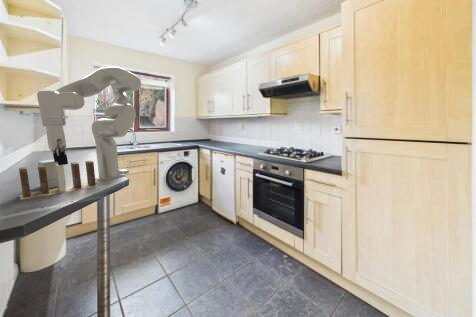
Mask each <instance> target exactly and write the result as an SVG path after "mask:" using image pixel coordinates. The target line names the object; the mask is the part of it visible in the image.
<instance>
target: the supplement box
mask: <svg viewBox="0 0 476 317" xmlns="http://www.w3.org/2000/svg"><path fill="white" fill-rule="evenodd" d="M55 164H58V162H54V159H46V160H38V161H37V167H38V166H43V165H44V166H45V167H46V173H47V181H48V188H49V189H53V188H55V187H57V188H58V185H57V177H56V169H55ZM63 171H64V172H65V168H64V166H63ZM65 176H66V175H65V174H64V179H65V180H66V177H65ZM66 185H67V183H66V182H65V186H66Z"/></svg>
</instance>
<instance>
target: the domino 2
mask: <svg viewBox="0 0 476 317" xmlns="http://www.w3.org/2000/svg"><path fill="white" fill-rule="evenodd" d="M63 167H64V165H58V164H55V169H56V177H57V185H58V186H57V188H58V190H59V191H60V192H61V191H66V187H67V186H66V185H65V183H66V178H65V179H64V175H65V170H64V171H63Z"/></svg>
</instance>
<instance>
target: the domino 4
mask: <svg viewBox="0 0 476 317" xmlns="http://www.w3.org/2000/svg"><path fill="white" fill-rule="evenodd" d="M84 162H85V170H86V178H87V179H86V180H87V184H88V185H89V186H96V184H97V183H96V179H95V178H96V176H95V175H96V173H95V164H94V161H92V160H87V161H86V160H85V161H84Z"/></svg>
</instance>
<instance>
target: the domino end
mask: <svg viewBox="0 0 476 317" xmlns="http://www.w3.org/2000/svg"><path fill="white" fill-rule="evenodd" d="M18 171H19V178H20V183H21V184H20V185H21V191H22V194H23V197H24V198H26V197H31V194H30V193H31V187H30V181H29V174H28V169H27V166H25V167H24V166H23V167H18Z"/></svg>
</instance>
